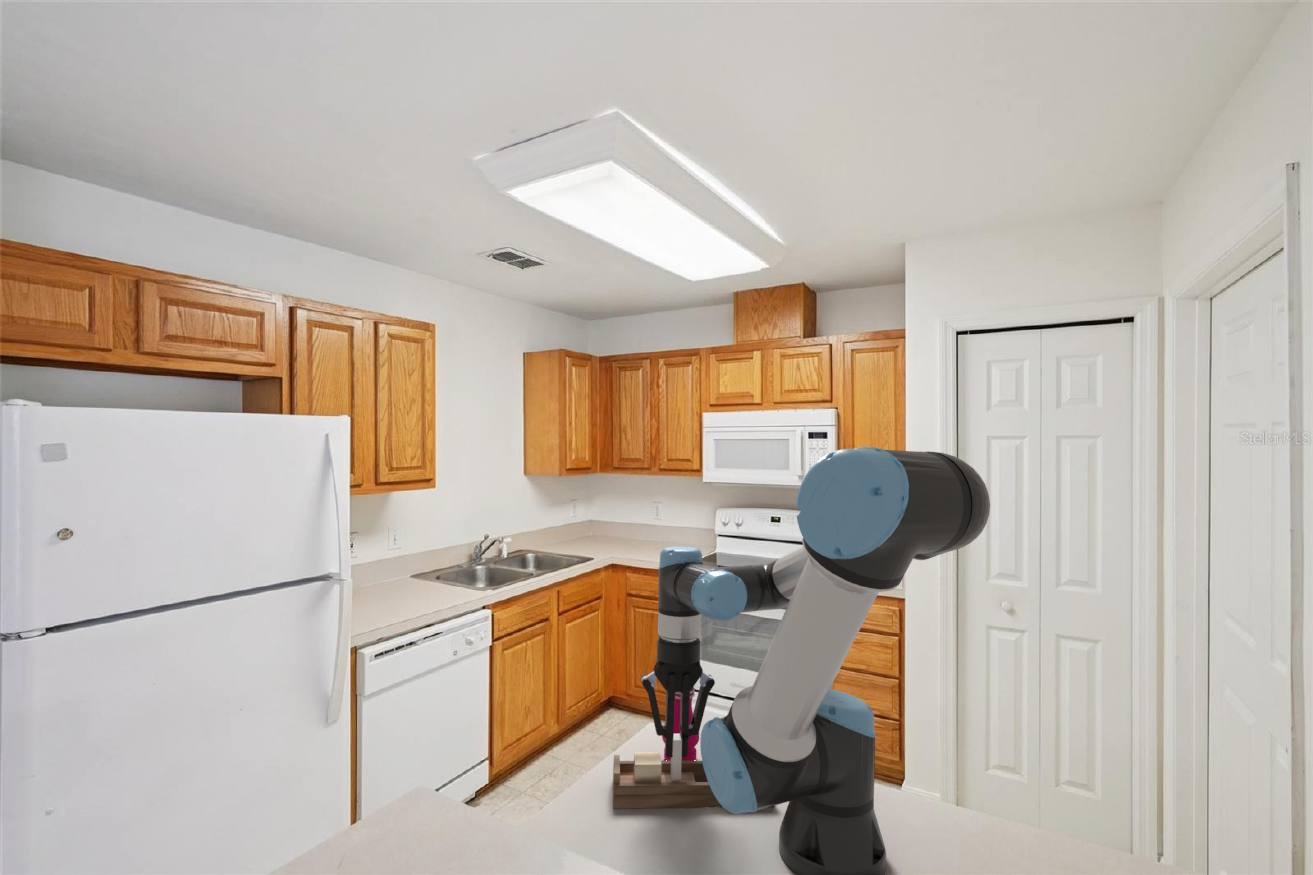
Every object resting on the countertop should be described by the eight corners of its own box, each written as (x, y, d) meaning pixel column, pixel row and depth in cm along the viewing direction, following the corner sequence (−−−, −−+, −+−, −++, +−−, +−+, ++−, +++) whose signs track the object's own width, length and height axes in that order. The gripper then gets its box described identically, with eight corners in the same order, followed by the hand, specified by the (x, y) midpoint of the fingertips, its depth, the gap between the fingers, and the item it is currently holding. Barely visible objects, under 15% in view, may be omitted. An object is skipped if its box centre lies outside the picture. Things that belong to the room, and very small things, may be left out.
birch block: (660, 788, 103) (661, 764, 103) (634, 789, 103) (635, 764, 103) (658, 775, 108) (659, 752, 108) (633, 775, 107) (634, 752, 107)
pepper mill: (695, 770, 114) (698, 661, 115) (657, 764, 116) (660, 657, 116) (701, 752, 121) (704, 650, 122) (665, 747, 123) (668, 646, 123)
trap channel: (774, 806, 102) (774, 776, 102) (613, 808, 100) (614, 777, 101) (761, 779, 111) (761, 751, 111) (612, 780, 109) (613, 751, 110)
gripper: (711, 631, 111) (709, 764, 110) (640, 631, 110) (636, 765, 109) (719, 642, 104) (717, 786, 102) (643, 642, 102) (639, 787, 101)
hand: (675, 775), depth 105 cm, fingers closed
